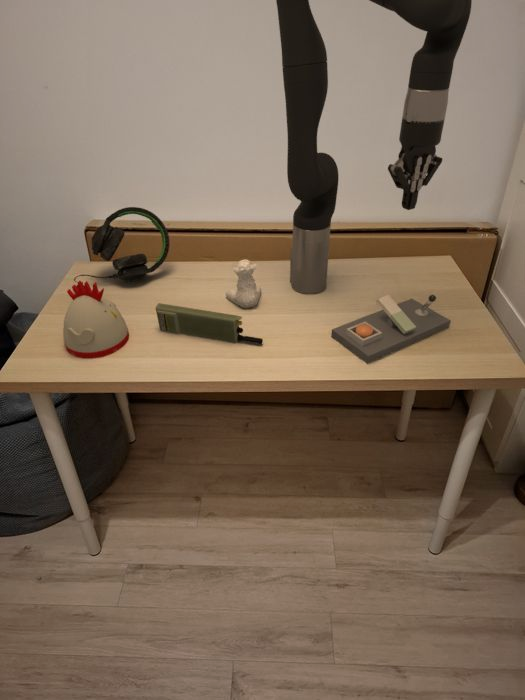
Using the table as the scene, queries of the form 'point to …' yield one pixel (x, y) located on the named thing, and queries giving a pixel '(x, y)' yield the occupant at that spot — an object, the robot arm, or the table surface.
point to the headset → (110, 239)
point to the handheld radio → (202, 324)
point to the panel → (389, 331)
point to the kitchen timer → (93, 324)
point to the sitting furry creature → (245, 286)
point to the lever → (428, 302)
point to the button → (364, 330)
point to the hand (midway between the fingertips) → (408, 208)
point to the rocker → (396, 314)
